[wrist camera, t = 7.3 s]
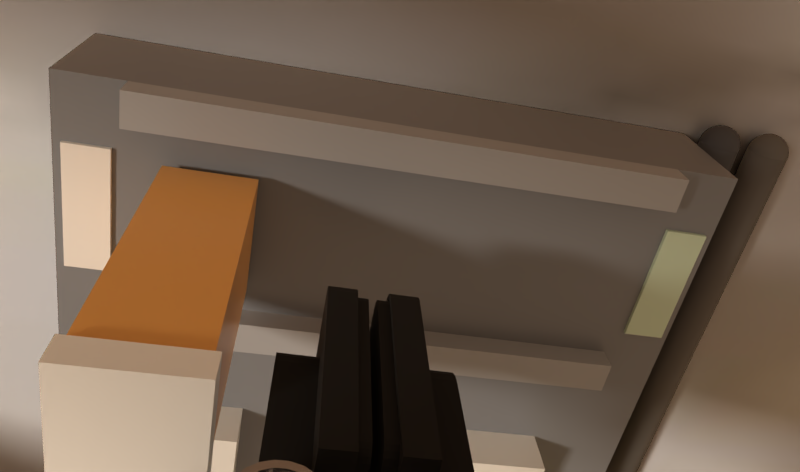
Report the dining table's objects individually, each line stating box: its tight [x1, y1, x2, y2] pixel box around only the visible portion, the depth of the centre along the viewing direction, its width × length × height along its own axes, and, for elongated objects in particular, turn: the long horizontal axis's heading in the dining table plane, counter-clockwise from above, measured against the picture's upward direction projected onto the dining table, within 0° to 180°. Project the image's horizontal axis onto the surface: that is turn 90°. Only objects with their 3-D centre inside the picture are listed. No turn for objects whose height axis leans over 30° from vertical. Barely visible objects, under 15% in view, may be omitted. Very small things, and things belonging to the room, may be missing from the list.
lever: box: [38, 166, 259, 472], centre depth 13 cm, size 3×2×7 cm
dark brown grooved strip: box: [606, 125, 789, 472], centre depth 21 cm, size 13×2×1 cm, turn 169°
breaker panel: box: [49, 33, 738, 472], centre depth 19 cm, size 12×15×4 cm
